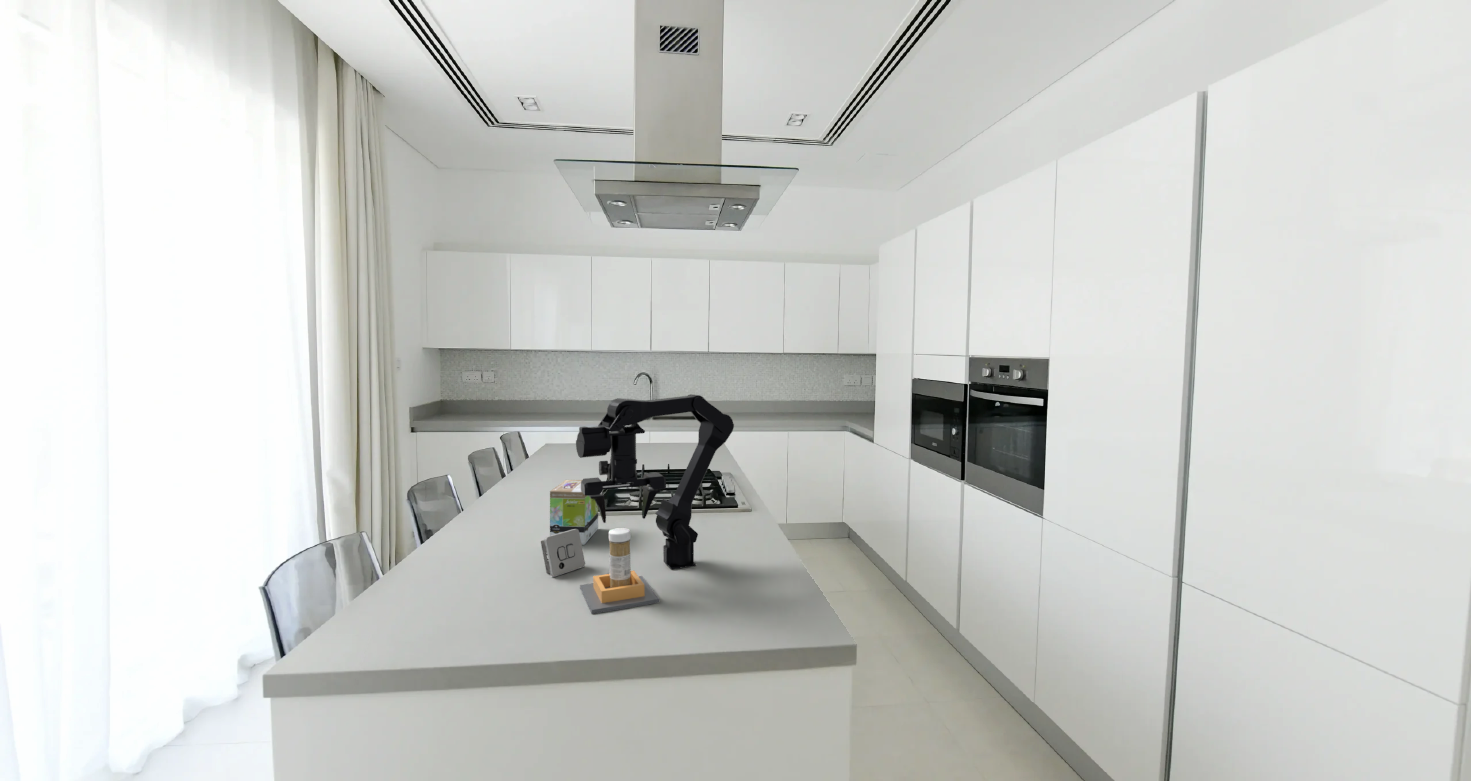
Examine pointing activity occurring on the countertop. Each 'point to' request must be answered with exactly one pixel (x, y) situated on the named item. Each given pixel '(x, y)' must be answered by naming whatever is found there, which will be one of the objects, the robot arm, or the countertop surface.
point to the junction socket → (617, 594)
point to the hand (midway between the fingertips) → (624, 520)
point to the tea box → (572, 510)
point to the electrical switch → (563, 552)
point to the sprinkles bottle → (619, 557)
